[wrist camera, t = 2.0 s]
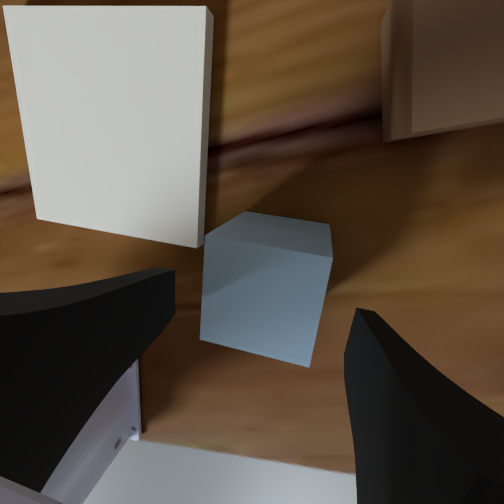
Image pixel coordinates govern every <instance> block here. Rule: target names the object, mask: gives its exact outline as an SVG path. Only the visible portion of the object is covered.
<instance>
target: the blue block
mask: <svg viewBox="0 0 504 504" xmlns="http://www.w3.org/2000/svg"><path fill="white" fill-rule="evenodd" d="M332 261H333V251H332V242H331V232H330V224H325V223H319V222H312V221H306V220H299V219H293V218H286V217H280V216H273V215H267V214H260V213H254V212H247V211H244V212H242V213H241V214H239V215H237V216H236V217H234V218H232V219H231V220H229V221H228V222H226V223H224V224H223V225H221V226H219V227H218V228H216V229H214V230H213V231H211V232H209V233H208V234H206V235H205V246H204V266H203V286H202V305H201V325H200V340H204V341H208V342H211V343H215V344H219V345H223V346H227V347H231V348H235V349H239V350H243V351H246V352H250V353H254V354H258V355H262V356H266V357H270V358H274V359H278V360H281V361H285V362H289V363H293V364H297V365H301V366H305V367H309V366H310V362H311V357H312V353H313V348H314V344H315V339H316V334H317V330H318V325H319V321H320V316H321V311H322V307H323V302H324V298H325V293H326V288H327V284H328V279H329V275H330V270H331V266H332Z"/></svg>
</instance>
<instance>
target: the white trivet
mask: <svg viewBox="0 0 504 504" xmlns="http://www.w3.org/2000/svg"><path fill="white" fill-rule="evenodd" d="M3 10H4V17H5V23H6V29H7V35H8V42H9V48H10V54H11V60H12V66H13V73H14V79H15V85H16V91H17V97H18V104H19V110H20V116H21V122H22V128H23V135H24V141H25V147H26V153H27V159H28V166H29V172H30V178H31V184H32V190H33V197H34V203H35V209H36V215H37V219H41V220H46V221H52V222H57V223H62V224H68V225H73V226H79V227H84V228H89V229H95V230H100V231H106V232H111V233H116V234H122V235H127V236H133V237H138V238H143V239H149V240H154V241H160V242H165V243H170V244H176V245H181V246H187V247H192V248H198V247H200V246H201V245H203V243H204V222H205V200H206V179H207V157H208V136H209V114H210V92H211V71H212V49H213V28H214V16H213V14H212V13H211V12H210V10H209V9H208V8H207V6H3Z"/></svg>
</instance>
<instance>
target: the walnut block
mask: <svg viewBox="0 0 504 504" xmlns="http://www.w3.org/2000/svg"><path fill="white" fill-rule="evenodd" d="M380 32H381V85H382V138H383V143H385V142H391V141H397V140H403V139H409V138H415V137H421V136H427V135H433V134H439V133H445V132H451V131H457V130H463V129H469V128H475V127H481V126H487V125H493V124H499V123H504V0H390V3H389V5H388V8H387V10H386V12H385V15H384V17H383V20H382V22H381V24H380Z"/></svg>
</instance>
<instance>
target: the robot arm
mask: <svg viewBox="0 0 504 504" xmlns="http://www.w3.org/2000/svg"><path fill="white" fill-rule="evenodd" d="M174 314H175V270H172V269H167V268H162V267H161V268H153V269H148V270H143V271H139V272H134V273H130V274H126V275H122V276H117V277H113V278H109V279H104V280H99V281H94V282H90V283H85V284H79V285H74V286H67V287H60V288H53V289H45V290H33V291H21V292H9V293H0V504H83V502H84V501H85V500H86V498H87V497H88V495H89V494H90V492H91V491H92V490H93V488H94V487H95V485H96V484H97V482H98V481H99V480H100V478H101V477H102V475H103V474H104V473H105V471H106V470H107V468H108V467H109V465H110V464H111V463H112V461H113V460H114V458H115V457H116V456H117V454H118V453H119V451H120V450H121V448H122V447H123V446H124V444H125V443H126V441H127V440H128V439H132V440H135V441H137V440H139V439H140V437H141V413H140V390H139V367H138V358H139V357H140V356H141V355H142V354H143V352H144V351H145V350H146V349H147V348H148V347H149V346H150V345H151V344H152V343H153V342H154V340H155V339H156V338H157V337H158V336H159V335H160V334H161V333H162V331H163V330H164V329H165V327H166V326H167V324H168V323H169V321H170V320H171V318H172V317H173V315H174ZM344 380H345V387H346V394H347V401H348V408H349V415H350V422H351V428H352V435H353V442H354V452H355V464H356V485H357V504H504V417H503V416H501V415H500V414H498V413H496V412H495V411H493V410H492V409H490V408H489V407H487V406H486V405H484V404H483V403H481V402H480V401H478V400H477V399H476V398H474V397H473V396H471V395H470V394H468V393H467V392H466V391H464V390H463V389H462V388H460V387H459V386H458V385H456V384H455V383H454V382H452V381H451V380H450V379H448V378H447V377H446V376H445V375H443V374H442V373H441V372H440V371H438V370H437V369H436V368H435V367H433V366H432V365H431V364H430V363H429V362H428V361H427V360H425V359H424V358H423V357H422V356H421V355H420V354H418V353H417V352H416V351H415V350H414V349H413V348H412V347H411V346H410V345H409V344H408V343H407V342H406V341H405V340H403V339H402V338H401V337H400V336H399V335H398V334H397V333H396V332H395V331H394V330H393V329H392V328H391V327H390V326H389V325H388V324H387V323H386V322H385V321H384V320H383V319H382V318H381V317H380V316H379V315H378V314H377V313H376V312H374V311H370V310H365V309H361V308H356V311H355V315H354V318H353V322H352V326H351V330H350V333H349V337H348V341H347V345H346V349H345V352H344Z"/></svg>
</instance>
